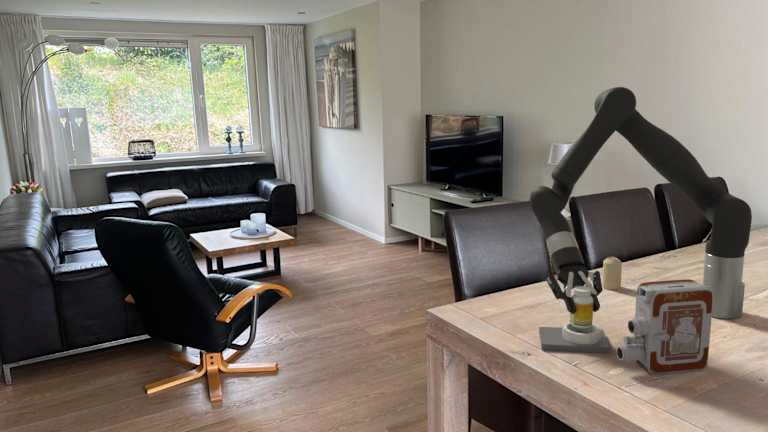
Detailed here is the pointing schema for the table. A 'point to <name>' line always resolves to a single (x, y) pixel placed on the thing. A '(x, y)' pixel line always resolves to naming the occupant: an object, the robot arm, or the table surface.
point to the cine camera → (670, 327)
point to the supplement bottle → (582, 308)
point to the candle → (612, 273)
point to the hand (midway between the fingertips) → (585, 311)
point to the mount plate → (564, 345)
